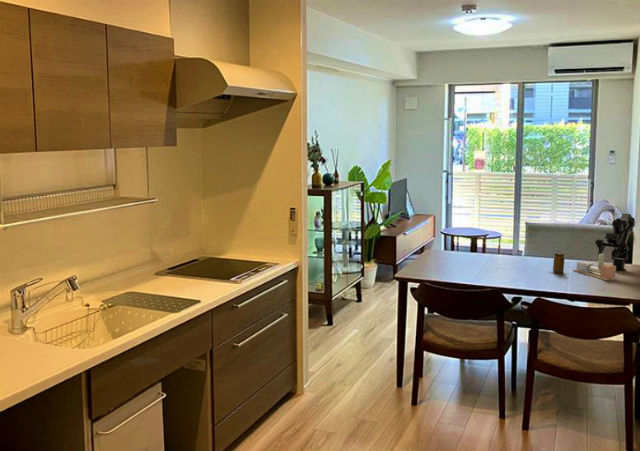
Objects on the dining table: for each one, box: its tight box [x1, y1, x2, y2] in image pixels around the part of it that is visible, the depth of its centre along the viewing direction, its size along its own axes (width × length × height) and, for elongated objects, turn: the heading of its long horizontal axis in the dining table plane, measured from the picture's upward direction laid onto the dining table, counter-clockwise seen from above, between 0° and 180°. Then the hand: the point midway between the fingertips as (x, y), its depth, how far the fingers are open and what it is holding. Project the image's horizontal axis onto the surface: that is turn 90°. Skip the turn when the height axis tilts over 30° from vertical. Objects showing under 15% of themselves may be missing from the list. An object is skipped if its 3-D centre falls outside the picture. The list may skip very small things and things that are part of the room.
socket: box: [600, 263, 617, 279], centre depth 370 cm, size 7×4×7 cm, turn 112°
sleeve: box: [576, 260, 594, 273], centre depth 386 cm, size 5×8×5 cm, turn 22°
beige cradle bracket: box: [587, 253, 605, 274], centre depth 376 cm, size 3×15×12 cm, turn 22°
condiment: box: [549, 252, 569, 276], centre depth 383 cm, size 7×8×12 cm
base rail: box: [572, 268, 616, 281], centre depth 380 cm, size 7×26×1 cm, turn 22°
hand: (606, 256), depth 377 cm, fingers open, 9 cm apart
